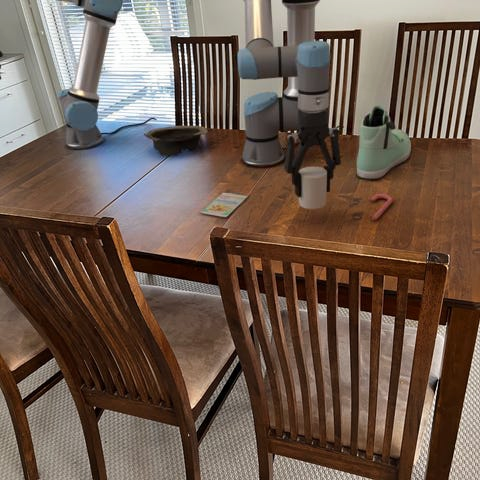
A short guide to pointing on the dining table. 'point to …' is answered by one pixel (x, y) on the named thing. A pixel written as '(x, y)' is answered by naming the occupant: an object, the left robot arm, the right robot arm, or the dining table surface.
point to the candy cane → (385, 206)
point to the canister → (313, 187)
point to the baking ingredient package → (224, 204)
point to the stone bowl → (176, 139)
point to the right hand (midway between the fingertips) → (312, 192)
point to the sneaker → (380, 145)
